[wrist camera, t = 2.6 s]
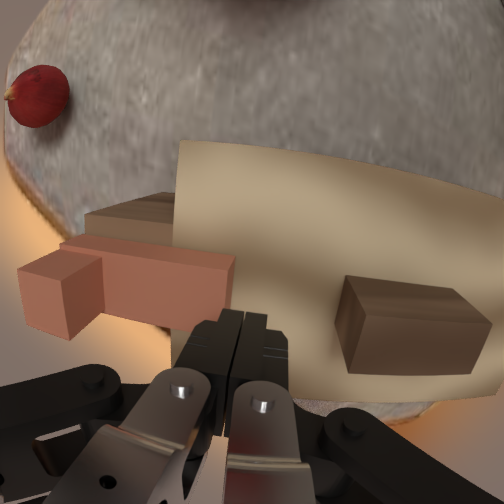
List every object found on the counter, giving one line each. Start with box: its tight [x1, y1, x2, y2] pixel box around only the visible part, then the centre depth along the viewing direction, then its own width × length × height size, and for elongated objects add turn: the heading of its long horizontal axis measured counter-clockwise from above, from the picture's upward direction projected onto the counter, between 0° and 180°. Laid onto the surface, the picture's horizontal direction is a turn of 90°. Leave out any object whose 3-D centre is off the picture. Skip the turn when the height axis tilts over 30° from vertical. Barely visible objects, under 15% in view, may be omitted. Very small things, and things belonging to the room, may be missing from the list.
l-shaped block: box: [17, 234, 236, 341], centre depth 12 cm, size 3×8×5 cm, turn 83°
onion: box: [4, 65, 70, 128], centre depth 19 cm, size 6×6×8 cm
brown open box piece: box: [85, 192, 175, 247], centre depth 19 cm, size 12×27×11 cm, turn 83°
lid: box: [171, 140, 504, 403], centre depth 13 cm, size 13×22×6 cm, turn 83°
